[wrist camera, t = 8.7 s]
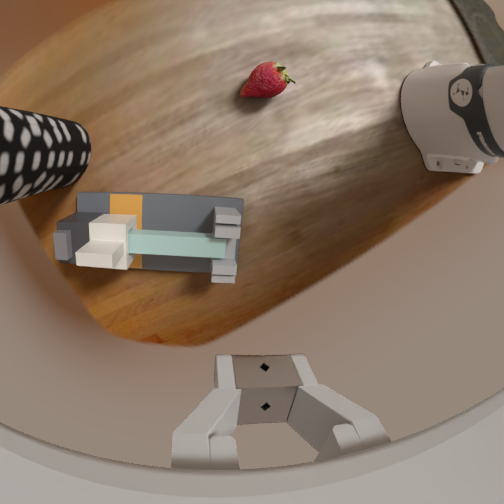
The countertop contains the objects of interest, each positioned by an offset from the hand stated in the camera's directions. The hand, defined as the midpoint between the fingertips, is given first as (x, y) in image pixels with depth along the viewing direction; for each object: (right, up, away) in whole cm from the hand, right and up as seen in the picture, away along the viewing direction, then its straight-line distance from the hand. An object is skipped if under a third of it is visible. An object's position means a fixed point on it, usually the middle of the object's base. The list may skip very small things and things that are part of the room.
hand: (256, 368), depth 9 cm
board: (-12, +6, +23) cm, 27 cm away
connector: (-19, +7, +22) cm, 30 cm away
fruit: (+1, +23, +20) cm, 31 cm away
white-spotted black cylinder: (-23, +16, +18) cm, 34 cm away
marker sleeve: (-15, +6, +20) cm, 26 cm away
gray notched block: (-4, +6, +24) cm, 26 cm away
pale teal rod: (-11, +5, +20) cm, 23 cm away
